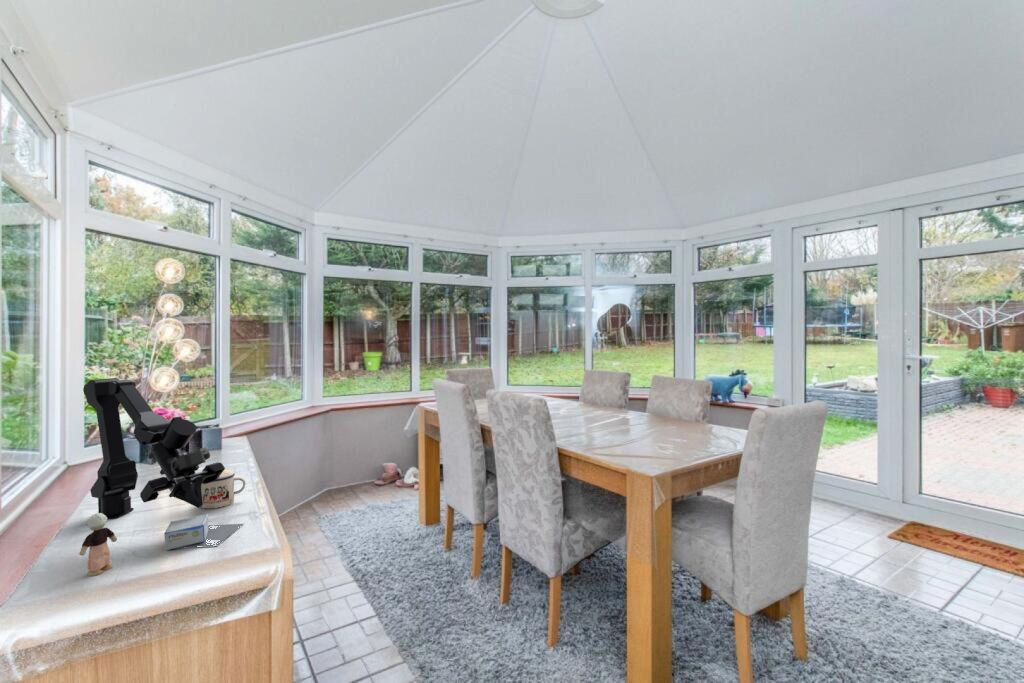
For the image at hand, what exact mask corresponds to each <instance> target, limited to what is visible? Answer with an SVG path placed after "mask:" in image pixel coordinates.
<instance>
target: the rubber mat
mask: <svg viewBox="0 0 1024 683" xmlns="http://www.w3.org/2000/svg"><path fill="white" fill-rule="evenodd" d="M243 524H244V523H229V524H208V528H209V527H210V526H213V525H214V526H218V527H217V528H216V529H215V528H214V529H210V528H212V527H210V528H209V530H208V533H207V536H206V539H205V541H204V542H200V543H196V544H192V545H187V546H183V547H178V548H177V549H185V548H184V547H197V546H213V545H215V544H213V545H211V544H212V543H207V542H206V540H207V539H208V540H210V539H211V540H220V541H218V542H217V543H218V544H217V543H216V545H219V544H220V543H221V542H222V541H224V540H225V539H226V538H227V537H228V538H230V537H231V536H232V535H233V534H235V533H236V532H237V531H238V530H239V529H238V527H240V526H242V525H243ZM219 526H220V527H219ZM243 526H244V525H243ZM243 526H242V527H243ZM237 529H238V530H237ZM236 530H237V531H236ZM235 531H236V532H235ZM232 533H233V534H232ZM231 534H232V535H231ZM230 535H231V536H230ZM229 536H230V537H229ZM228 538H227V539H228ZM227 539H226V540H227ZM208 540H207V541H208ZM211 540H210V541H211ZM226 540H225V541H226ZM210 541H209V542H210ZM225 541H224V542H225ZM219 542H220V543H219ZM206 543H207V544H210V545H207V544H206ZM214 543H215V542H214ZM222 543H223V542H222ZM222 543H221V544H222ZM221 544H220V545H221ZM220 545H219V546H220Z"/></svg>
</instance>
